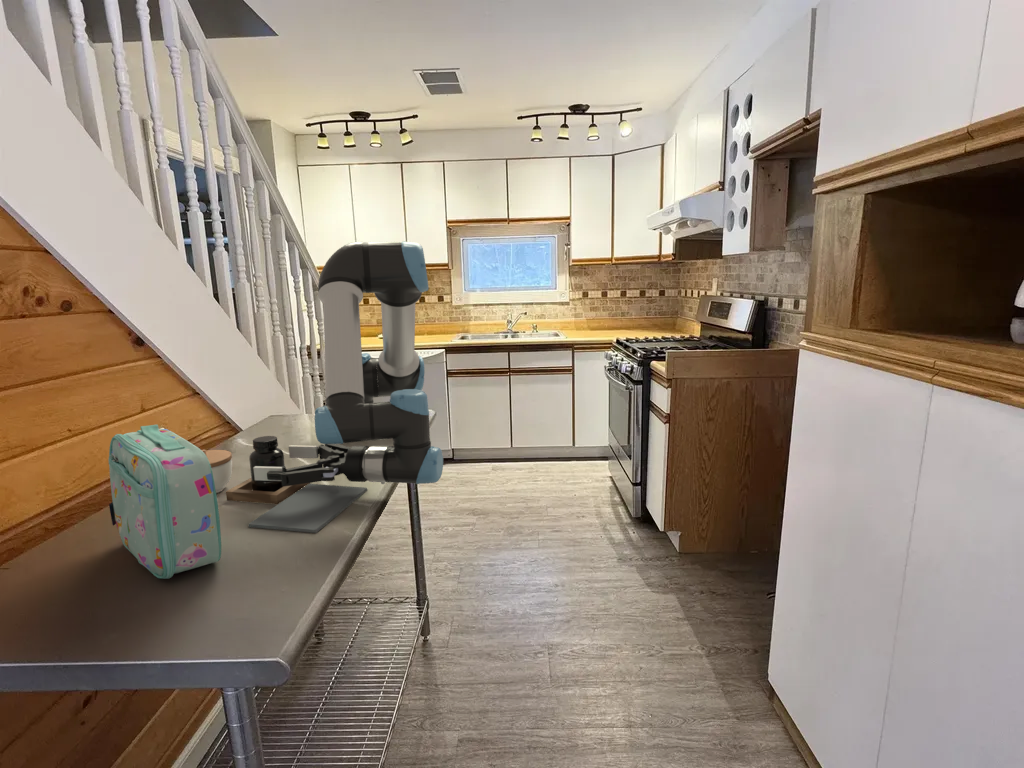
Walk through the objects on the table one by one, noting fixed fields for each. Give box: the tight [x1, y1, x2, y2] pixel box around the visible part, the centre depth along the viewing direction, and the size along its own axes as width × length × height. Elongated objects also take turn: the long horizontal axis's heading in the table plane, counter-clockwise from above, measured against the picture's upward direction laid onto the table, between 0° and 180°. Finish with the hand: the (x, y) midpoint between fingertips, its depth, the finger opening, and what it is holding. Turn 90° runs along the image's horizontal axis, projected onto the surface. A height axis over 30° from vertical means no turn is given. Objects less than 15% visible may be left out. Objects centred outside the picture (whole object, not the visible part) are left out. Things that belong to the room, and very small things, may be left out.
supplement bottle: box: [248, 435, 286, 492], centre depth 116 cm, size 7×7×12 cm
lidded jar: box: [201, 449, 233, 494], centre depth 117 cm, size 11×11×9 cm
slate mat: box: [248, 483, 368, 534], centre depth 108 cm, size 20×14×1 cm
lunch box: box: [108, 424, 222, 580], centre depth 89 cm, size 27×10×21 cm, turn 50°
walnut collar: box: [225, 477, 310, 505], centre depth 117 cm, size 12×12×2 cm
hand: (273, 461), depth 114 cm, fingers open, 13 cm apart
